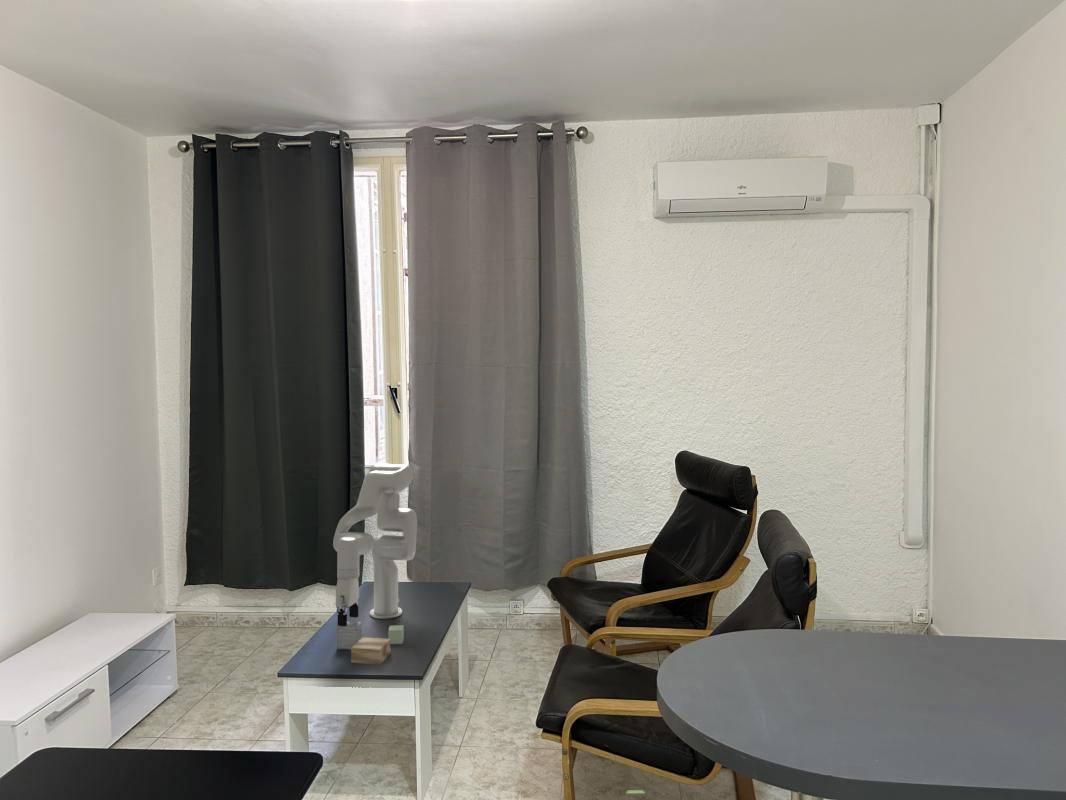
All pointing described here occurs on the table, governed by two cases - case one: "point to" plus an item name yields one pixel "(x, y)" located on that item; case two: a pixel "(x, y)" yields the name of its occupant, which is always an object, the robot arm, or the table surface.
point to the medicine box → (349, 635)
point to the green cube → (396, 634)
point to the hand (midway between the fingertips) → (348, 621)
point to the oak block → (370, 650)
